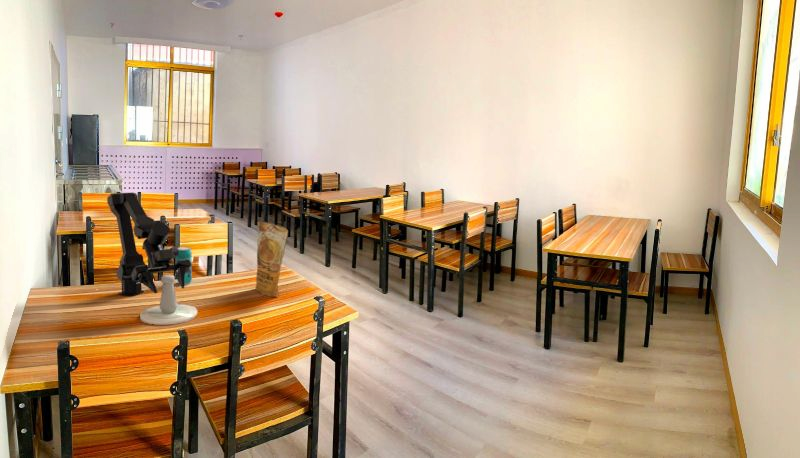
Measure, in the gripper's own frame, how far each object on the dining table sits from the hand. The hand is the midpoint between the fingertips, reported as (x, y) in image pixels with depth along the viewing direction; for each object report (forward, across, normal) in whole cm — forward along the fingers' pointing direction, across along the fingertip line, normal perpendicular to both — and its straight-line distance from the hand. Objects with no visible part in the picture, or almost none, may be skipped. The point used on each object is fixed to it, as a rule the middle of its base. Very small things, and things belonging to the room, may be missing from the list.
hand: (170, 290), depth 179 cm
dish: (+6, 0, +7) cm, 9 cm away
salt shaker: (+5, 0, +7) cm, 8 cm away
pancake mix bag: (+4, +42, +10) cm, 43 cm away
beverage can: (-18, +22, +32) cm, 43 cm away
